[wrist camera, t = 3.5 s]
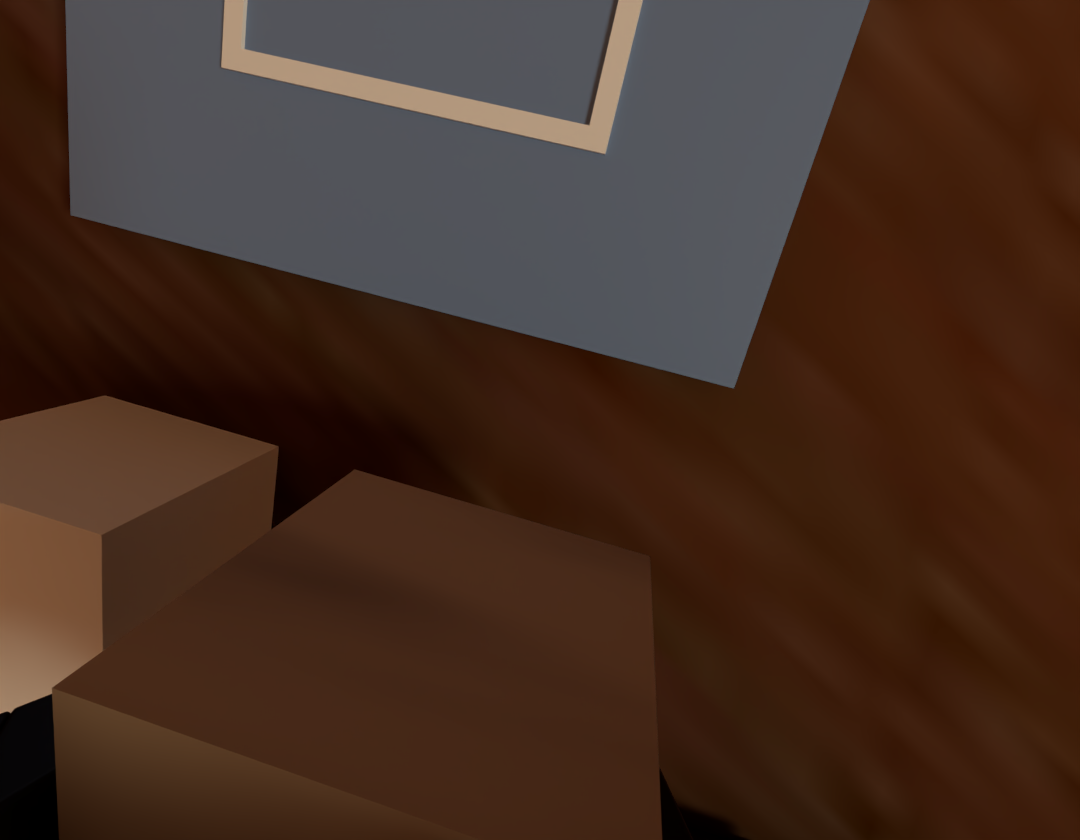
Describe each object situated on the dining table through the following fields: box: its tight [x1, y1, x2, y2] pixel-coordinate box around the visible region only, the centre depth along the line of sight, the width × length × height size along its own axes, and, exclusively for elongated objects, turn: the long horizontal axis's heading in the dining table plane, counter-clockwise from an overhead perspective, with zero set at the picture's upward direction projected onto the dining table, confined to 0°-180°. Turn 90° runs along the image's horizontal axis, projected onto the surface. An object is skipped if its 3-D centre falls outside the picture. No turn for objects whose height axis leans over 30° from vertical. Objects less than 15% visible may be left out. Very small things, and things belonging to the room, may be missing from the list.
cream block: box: [0, 395, 279, 714], centre depth 13 cm, size 5×5×5 cm
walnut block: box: [52, 470, 662, 840], centre depth 7 cm, size 5×5×5 cm
